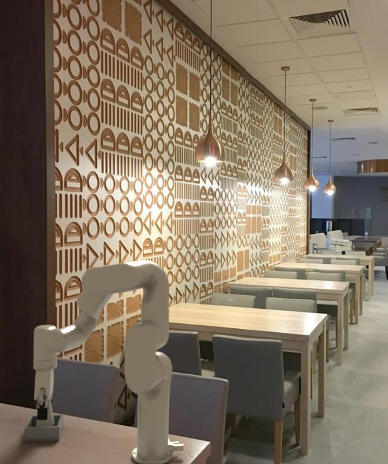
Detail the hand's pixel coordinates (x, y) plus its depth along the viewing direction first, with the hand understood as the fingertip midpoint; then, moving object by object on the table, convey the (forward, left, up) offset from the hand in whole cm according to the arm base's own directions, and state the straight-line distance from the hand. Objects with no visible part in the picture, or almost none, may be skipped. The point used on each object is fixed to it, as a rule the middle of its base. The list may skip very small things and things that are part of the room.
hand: (44, 414), depth 170 cm
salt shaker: (0, 0, -6) cm, 6 cm away
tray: (0, 0, -7) cm, 7 cm away
